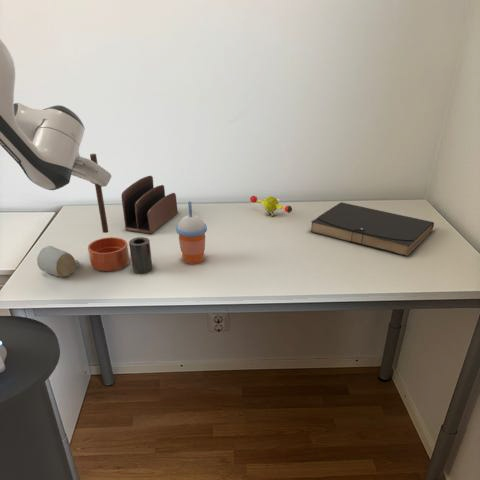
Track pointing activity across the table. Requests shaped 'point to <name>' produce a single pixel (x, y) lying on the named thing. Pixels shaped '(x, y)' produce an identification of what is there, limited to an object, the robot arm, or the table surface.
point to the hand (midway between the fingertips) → (99, 182)
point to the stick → (100, 200)
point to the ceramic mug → (56, 261)
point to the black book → (372, 228)
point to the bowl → (108, 254)
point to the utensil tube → (141, 255)
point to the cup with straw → (192, 237)
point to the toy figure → (271, 204)
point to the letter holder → (147, 206)
